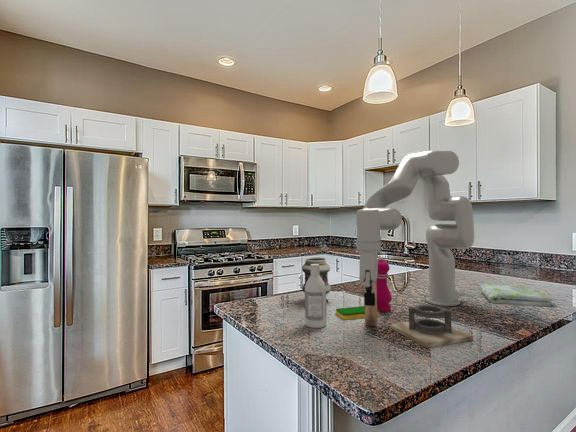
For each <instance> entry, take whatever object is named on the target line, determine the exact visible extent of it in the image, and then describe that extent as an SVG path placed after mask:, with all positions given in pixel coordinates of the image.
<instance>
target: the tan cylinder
mask: <svg viewBox="0 0 576 432" xmlns="http://www.w3.org/2000/svg"><path fill="white" fill-rule="evenodd" d="M362 283H364V281H363V282H362ZM370 283H372V281H370ZM370 286H371V287H372V285H370ZM374 293H375V306H367V305H365V304H364V303H363V306H364V313H365V318H364V325H366V326H367V327H368V326H369V327H376V326H378V316H377V288H376V282H375V283H374Z"/></svg>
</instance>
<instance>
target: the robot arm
mask: <svg viewBox="0 0 576 432" xmlns="http://www.w3.org/2000/svg"><path fill="white" fill-rule="evenodd" d="M459 166H460V160H459V157H458V155H457V154H456V152H454V151H453V150H452V151H451V150H428V151H421V152H416V153H415V152H414V153H410V154H407V155H405V156H404V157H403V158H402V159H401V160H400V163H399V164H398V166H397V168H396V170H395V172H394V173H393V175H392V177H391V179H390V180H389V182H387V183H386V184H385V185H383V186H382V187H381V188H379V189H378V190H377V191H375V192H374V193H373V194H372V195H371V196H370V197H369V198H368V199H367V201H366V202H365V204H364V205H363V207H362V208H361V209H358V210H357V211H356V214H355V217H356V219H355V220H356V247H357V248H356V251H357V252H358V253H359V276H358V277H359V279H358V281H359V284H363V302H364V303H363V305H364V304H365V305H367V306H375V293H374V283H375V282H376V280H377V275H378V261H379V257H378V255H379V254H378V253H381V252H382V237H381V236H382V235H381V232H382V231H392V230H393V231H394V230H396V229H398V228H399V227H400V225H402V222H403V217H402V214H401V212H400V211H399V210H398V209H396V208H394V207H388V206H389V205H392V204H393V203H396V202H399V201H401V200H404V199H405V198H408V197H409V196H410V195H412V193H413V191H414V189H415V187H416V185H417V183H418V181H419V179H420V180H421V181H422V182H423V184H424V187H425V191H426V200H427V201H426V202H427V214H428V216H429V218H430V219H431V220H433V221H438V222H447V221H448V222H449V221H450V222H451V221H452V222H453V221H454V222H455V223H454V224H453V223H435V224H432V225H430V226H428V227H427V229H426V231H425V239H426V245H427V250H428V272H429V273H428V279H429V280H428V282H429V289H428V290H429V295H428V296H426V297H425V303H426V302H427V303H428V304H430V305H433V306H439V307H440V306H441V307H442V306H443V307H455V306H458V305H460V304H461V300H460V299H458V298H459V297H465V296H466V293H465V292H464V291H457V290H456V259H455V256H454V254H453V253H452V251H451V249H457V250H467V249H470V248H471V247H472V246H473V245H474V241H475V225H474V224H475V223H474V210H473V205H472V202H471V201H470V199H469V198H468V197H466V196H463V195H453V196H451V190H450V184H449V181H448V179H447V178H446V176H445V175H451V174H452V175H453V174H454V173H456V172H457V170H458V169H459ZM363 281H364V282H363ZM370 281H372V283H370ZM370 285H372V287H371V286H370Z"/></svg>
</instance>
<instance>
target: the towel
mask: <svg viewBox="0 0 576 432" xmlns="http://www.w3.org/2000/svg"><path fill="white" fill-rule="evenodd" d="M479 290H480V292H481V293H482V294H483V295H484V296H485V297H486V298H487V300H488V301H489V302H490V303H492V304H502V305H515V306H516V305H517V306H518V305H519V306H531V307H532V306H534V307H550V306H551V303H550V302H552V301H553V299H552V297H551V296H550V295H549V294H547V293H546V292H545V291H543V290H541V289H538V288H536V287H533V286H524V285H523V286H521V285H511V284H502V283H496V282H495V283H493V282H484V283H481V284H480V285H479Z"/></svg>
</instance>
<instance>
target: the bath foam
mask: <svg viewBox="0 0 576 432" xmlns="http://www.w3.org/2000/svg"><path fill="white" fill-rule="evenodd" d="M310 268H311V276H310V277H309V279H308V281H307V282H306V285H305V293H304V317H305V319H304V320H305V326H307V327H308V328H312V329H321V328H324V327H326V326H327V303H326V299H327V294H326V287H325V284H324V282H323V280H322V278H321V277H320V275H319V264H311V265H310Z"/></svg>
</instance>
